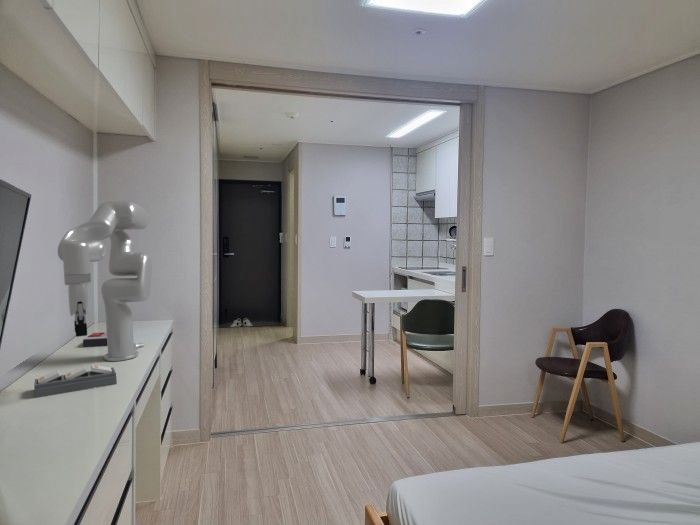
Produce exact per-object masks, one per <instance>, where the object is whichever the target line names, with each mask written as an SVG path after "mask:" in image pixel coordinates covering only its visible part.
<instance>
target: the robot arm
mask: <svg viewBox="0 0 700 525" xmlns="http://www.w3.org/2000/svg"><path fill="white" fill-rule="evenodd" d="M149 218H150V217H149V214H148V212H147V210H146V209H145V208H143V207H142V206H141V205H139V204H137V203H135V202H132V201H128V200H127V201H126V200H125V201H105V202H101V203H100V204H99V206H98V207H97V208H96V210H95V211H94V213H93V215H92V217H91V218H90V220H88V221H86V222H84V223H83V222H82V224H80V225H78V226H75V227H73V228H71V229H70V230H69V231H67V232H65V234H64V236H63V237H62V238H61V240H60V242H59V243H58V246H57V256H58V258H59V259H60V260H61V261H62V262H63V280H64V281H63V282H64V285H65V286H67V287H68V304H69V305H68V306H69V307H68V309H69V315H70V316H72V317H73V316H74V320H73V322H74V333H75V336H76V337H87V335H88V324H87V321H86V320H87V319H86V318H87V317H86V315H87V314H88V311H89V310H88V308H89V307H88V306H89V303H88V299H89V298H88V284H89V285H90V284H92V279H91V278H92V277H91V263H96V262H100V261H102V260H103V259H104V258H105V256H106V254H107V249H106V245H105V244H104V243H103V242H102V241H103V240H104V239H107V238H109V239H110V250H109V258H108V259H109V260H108V271H109V273H110V274H111V275H112V276H113V277H118V278H109V279H107V280H105V281H103V283H102V284H101V296H102V300H103V304H104V312H105V327H106V332H107V346H106V347H107V353H106V354H104V355H103V360H104V361H106V362H107V361H108V362H120V361H127V360H131V359H134V358H136V357H138V356H139V351H138V350H139V349H141V348H145V344H144V342H140V343H136V342H134V325H133V322H134V321H133V312H132V310H131V308H130V306H128V304H127V303H142V302H146V301H147V300H148V299H149V296H150V292H151V284H152V283H151V282H152V270H153V269H152V267H153V266H152V265H153V264H152V259H151V256H150V255H149V254H148V253H146V252H138V251H137V252H134V246H135V242H134V239H133V238H132V237H131V236H130V235H129V234H128V233H127V231H126V230H132V231H133V230H145V229H146V228H147V227H148V225H149V220H150V219H149ZM119 277H122V278H119ZM128 277H129V278H128ZM132 277H133V278H132Z"/></svg>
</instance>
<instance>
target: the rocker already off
mask: <svg viewBox="0 0 700 525" xmlns="http://www.w3.org/2000/svg"><path fill="white" fill-rule="evenodd" d="M111 368H112V367H109V366H104V365H103V366H102V365H99V364H98V365H97V364H91V366H90V371H93V372H99V373H105V374H106V373H112V370H111Z"/></svg>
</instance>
